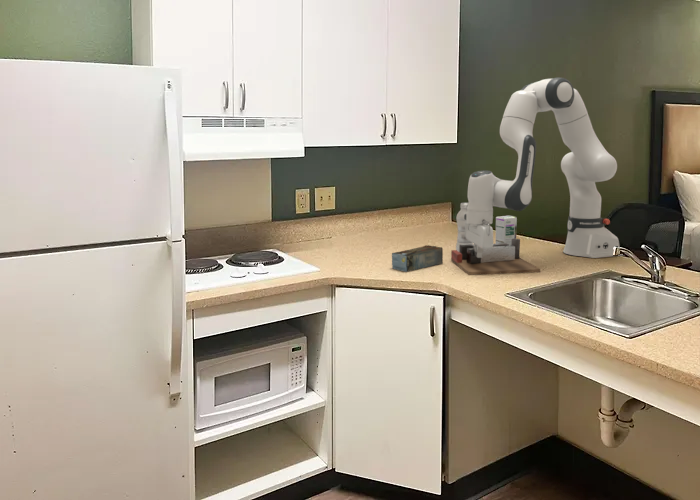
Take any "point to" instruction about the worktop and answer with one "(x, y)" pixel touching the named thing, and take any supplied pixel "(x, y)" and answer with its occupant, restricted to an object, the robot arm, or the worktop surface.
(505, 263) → the tongs base
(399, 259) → the beverage carton
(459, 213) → the plastic bottle
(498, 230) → the syrup box
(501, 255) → the jaw
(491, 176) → the robot arm
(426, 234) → the worktop surface
